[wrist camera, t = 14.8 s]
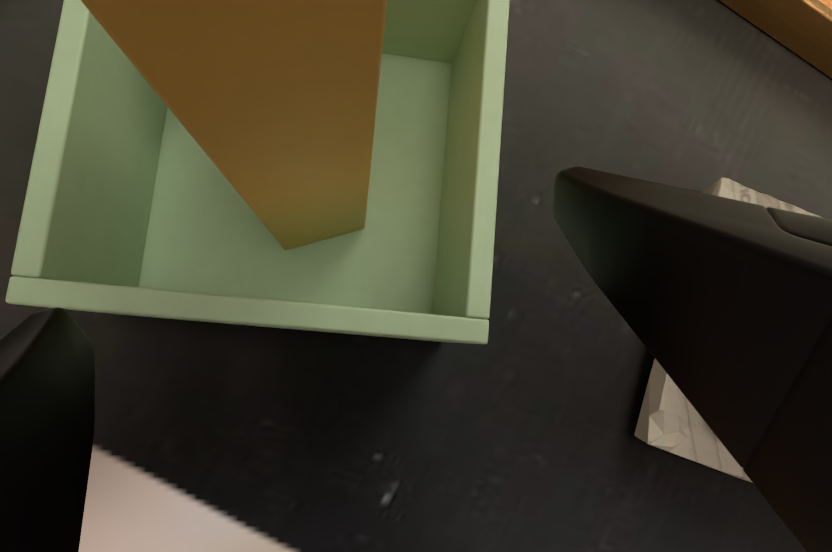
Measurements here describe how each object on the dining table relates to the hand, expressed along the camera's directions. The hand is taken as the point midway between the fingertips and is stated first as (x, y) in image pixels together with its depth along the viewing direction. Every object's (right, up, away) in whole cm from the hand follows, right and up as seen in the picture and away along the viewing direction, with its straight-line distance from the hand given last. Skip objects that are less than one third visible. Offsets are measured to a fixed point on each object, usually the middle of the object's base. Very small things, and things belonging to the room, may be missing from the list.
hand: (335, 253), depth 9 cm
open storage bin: (-2, +3, +8) cm, 9 cm away
